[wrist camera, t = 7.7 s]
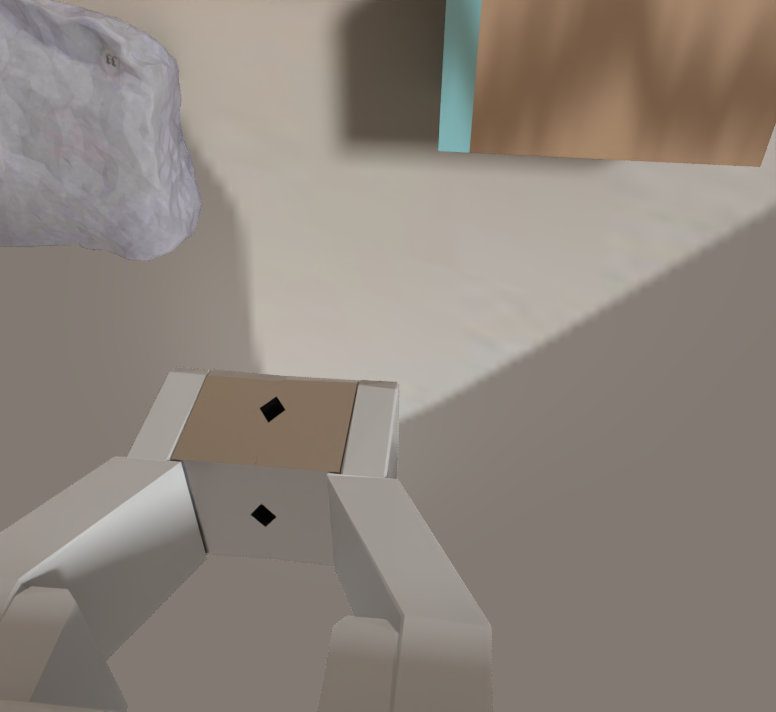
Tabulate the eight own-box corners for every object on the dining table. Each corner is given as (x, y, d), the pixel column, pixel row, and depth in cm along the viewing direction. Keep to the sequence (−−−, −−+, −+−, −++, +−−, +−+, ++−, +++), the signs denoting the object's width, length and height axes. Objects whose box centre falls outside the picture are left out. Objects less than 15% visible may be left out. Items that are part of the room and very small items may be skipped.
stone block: (-105, -37, 28) (-50, 215, 33) (-202, -40, 24) (-122, 250, 28) (199, -13, 28) (211, 236, 32) (156, -12, 23) (177, 276, 28)
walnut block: (447, -22, 20) (822, -10, 19) (453, -55, 24) (765, -47, 23) (438, 151, 23) (759, 166, 22) (444, 96, 27) (719, 108, 26)
